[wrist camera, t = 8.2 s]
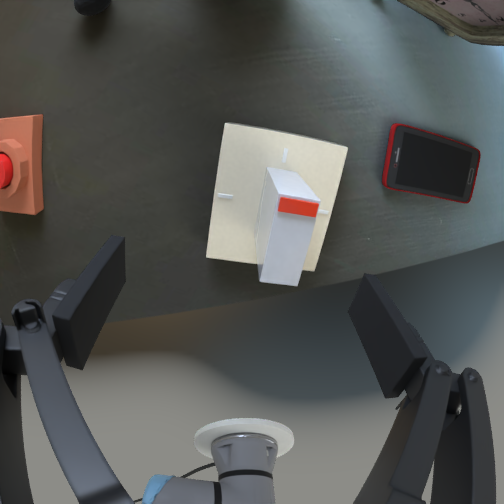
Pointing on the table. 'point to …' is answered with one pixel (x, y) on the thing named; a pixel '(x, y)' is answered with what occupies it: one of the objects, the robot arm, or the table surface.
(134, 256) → the table surface
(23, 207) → the button block
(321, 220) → the cream rectangular base
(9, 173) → the button
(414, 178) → the cell phone
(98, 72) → the table surface
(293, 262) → the grey rectangular block
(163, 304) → the table surface
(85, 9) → the mechanical valve
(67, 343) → the robot arm
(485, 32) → the tabletop clock
